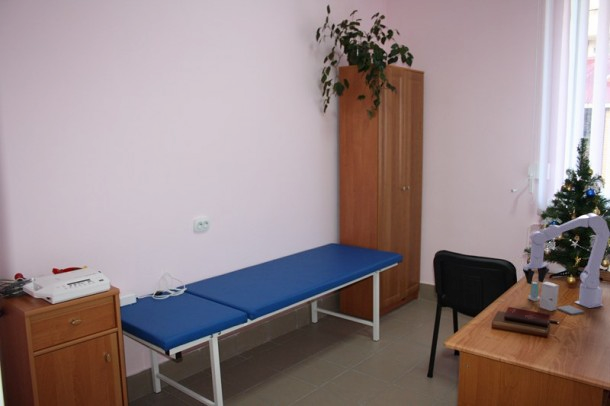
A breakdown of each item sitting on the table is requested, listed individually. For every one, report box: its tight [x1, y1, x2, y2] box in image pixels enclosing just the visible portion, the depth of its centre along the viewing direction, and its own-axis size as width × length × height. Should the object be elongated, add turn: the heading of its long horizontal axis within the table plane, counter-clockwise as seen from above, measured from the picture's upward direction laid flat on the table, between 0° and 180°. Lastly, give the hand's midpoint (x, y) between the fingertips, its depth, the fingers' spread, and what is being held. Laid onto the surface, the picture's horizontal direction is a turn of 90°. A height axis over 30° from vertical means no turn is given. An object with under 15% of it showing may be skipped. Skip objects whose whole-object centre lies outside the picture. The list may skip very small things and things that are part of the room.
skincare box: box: [539, 281, 560, 312], centre depth 218 cm, size 6×4×12 cm
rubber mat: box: [556, 304, 585, 316], centre depth 215 cm, size 8×8×1 cm
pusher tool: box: [527, 281, 541, 302], centre depth 230 cm, size 4×4×8 cm
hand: (534, 282), depth 230 cm, fingers open, 7 cm apart
